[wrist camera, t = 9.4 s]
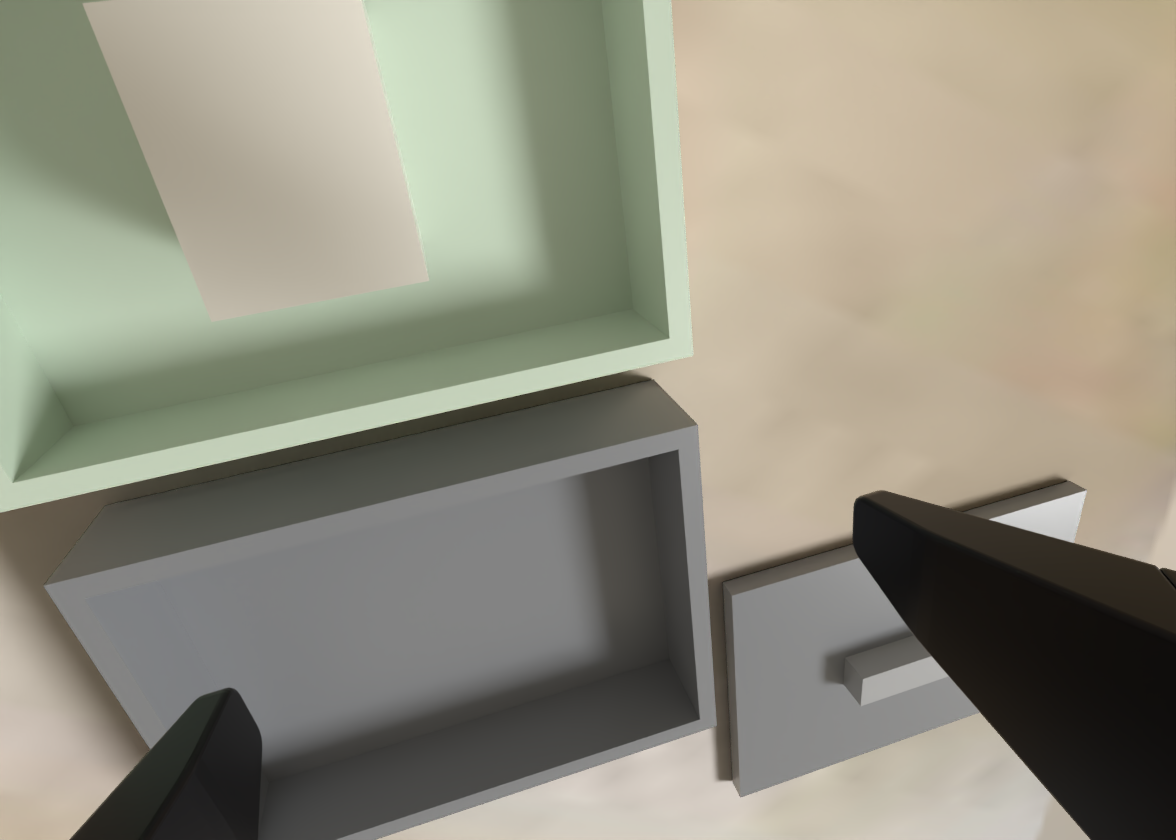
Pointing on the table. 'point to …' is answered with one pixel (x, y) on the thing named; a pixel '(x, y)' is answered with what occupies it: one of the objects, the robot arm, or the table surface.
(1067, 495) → the bin lid
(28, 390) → the bin
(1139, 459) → the table surface
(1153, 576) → the robot arm
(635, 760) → the table surface
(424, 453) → the bin
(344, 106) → the cream block
